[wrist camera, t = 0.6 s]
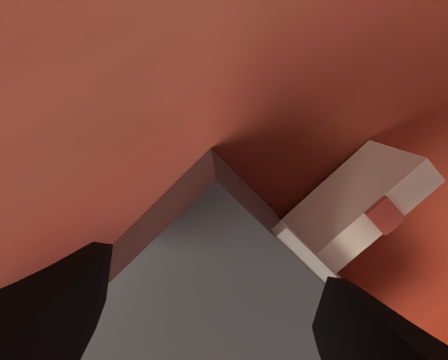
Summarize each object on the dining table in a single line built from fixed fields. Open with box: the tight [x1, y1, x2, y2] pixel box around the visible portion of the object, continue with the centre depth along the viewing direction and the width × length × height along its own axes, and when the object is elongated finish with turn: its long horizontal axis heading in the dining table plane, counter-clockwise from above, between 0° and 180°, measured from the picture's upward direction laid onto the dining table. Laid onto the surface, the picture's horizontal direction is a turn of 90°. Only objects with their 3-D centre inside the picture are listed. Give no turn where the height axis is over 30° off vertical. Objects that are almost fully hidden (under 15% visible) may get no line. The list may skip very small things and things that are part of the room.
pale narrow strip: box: [280, 140, 445, 273], centre depth 18 cm, size 2×12×5 cm, turn 134°
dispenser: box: [81, 148, 342, 360], centre depth 18 cm, size 14×11×7 cm
